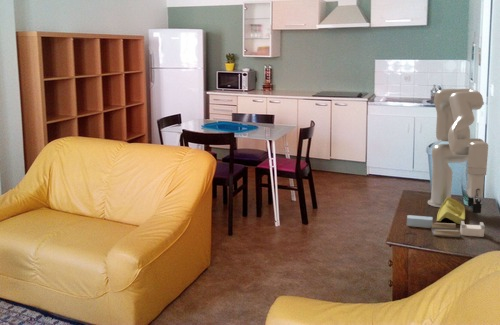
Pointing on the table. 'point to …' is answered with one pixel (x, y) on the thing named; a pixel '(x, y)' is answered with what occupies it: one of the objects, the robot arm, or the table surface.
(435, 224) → the assembly jig
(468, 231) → the white i-beam block
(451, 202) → the plastic component
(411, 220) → the light blue rectangular block
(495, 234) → the table surface
